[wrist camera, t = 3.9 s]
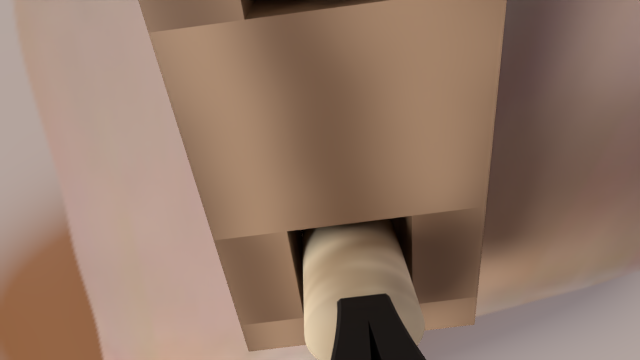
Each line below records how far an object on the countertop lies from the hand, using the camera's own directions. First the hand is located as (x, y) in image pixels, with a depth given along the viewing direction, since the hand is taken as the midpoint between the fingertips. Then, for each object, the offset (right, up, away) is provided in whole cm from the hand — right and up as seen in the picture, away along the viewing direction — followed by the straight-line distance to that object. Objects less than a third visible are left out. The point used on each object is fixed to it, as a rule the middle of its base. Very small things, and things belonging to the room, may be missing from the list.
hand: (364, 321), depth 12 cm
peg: (0, +1, +6) cm, 7 cm away
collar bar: (-1, +8, +6) cm, 10 cm away
